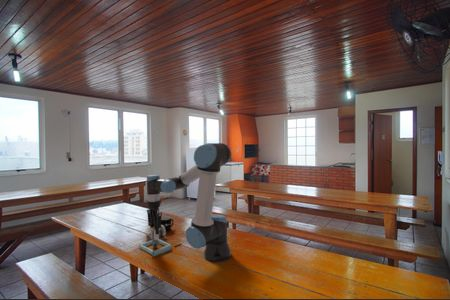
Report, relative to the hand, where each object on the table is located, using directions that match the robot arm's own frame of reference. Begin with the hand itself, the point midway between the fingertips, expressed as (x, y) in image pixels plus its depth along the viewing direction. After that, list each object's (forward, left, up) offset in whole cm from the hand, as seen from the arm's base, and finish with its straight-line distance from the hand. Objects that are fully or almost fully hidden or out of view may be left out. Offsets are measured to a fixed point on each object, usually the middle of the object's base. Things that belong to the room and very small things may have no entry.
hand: (155, 238), depth 153 cm
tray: (0, 0, -7) cm, 7 cm away
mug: (+22, -24, -7) cm, 33 cm away
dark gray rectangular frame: (0, -12, -7) cm, 13 cm away
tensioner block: (+13, -9, -7) cm, 17 cm away
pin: (0, 0, -5) cm, 5 cm away
